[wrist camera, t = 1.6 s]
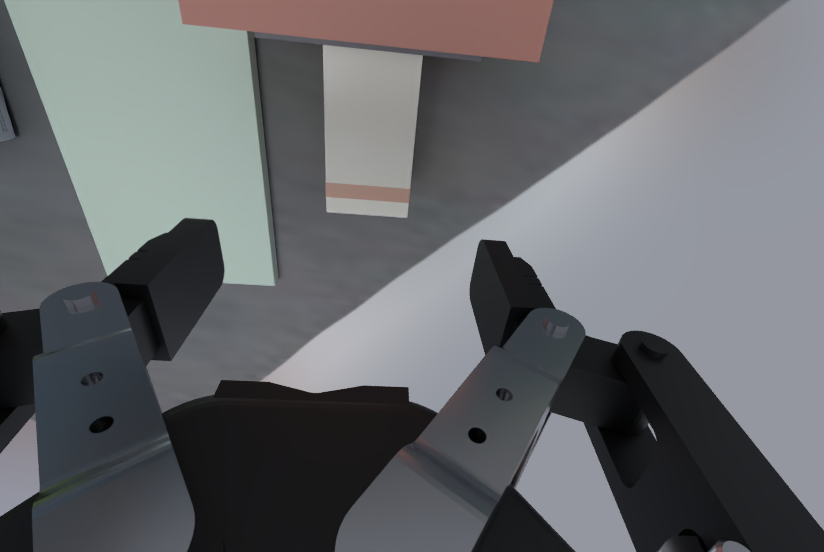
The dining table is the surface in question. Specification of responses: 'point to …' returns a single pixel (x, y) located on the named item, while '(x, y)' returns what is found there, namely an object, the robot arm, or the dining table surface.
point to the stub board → (154, 124)
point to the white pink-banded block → (369, 129)
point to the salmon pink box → (389, 24)
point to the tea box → (5, 121)
